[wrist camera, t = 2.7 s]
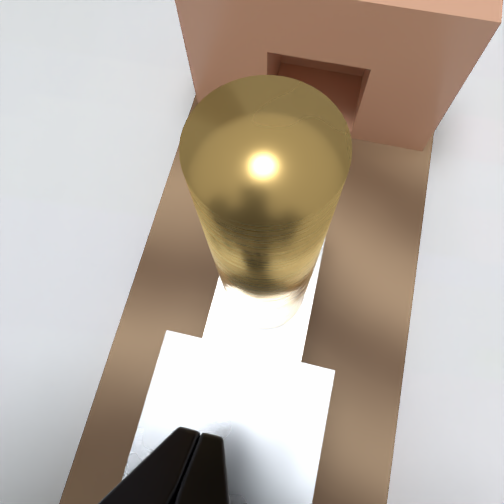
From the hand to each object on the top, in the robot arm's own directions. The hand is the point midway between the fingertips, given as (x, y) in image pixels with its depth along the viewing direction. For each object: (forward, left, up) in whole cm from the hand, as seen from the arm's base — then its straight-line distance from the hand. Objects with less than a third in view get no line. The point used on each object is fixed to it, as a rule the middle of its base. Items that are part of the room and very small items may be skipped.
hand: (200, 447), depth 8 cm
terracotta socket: (+15, 0, -9) cm, 18 cm away
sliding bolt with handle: (+1, 0, -8) cm, 8 cm away
